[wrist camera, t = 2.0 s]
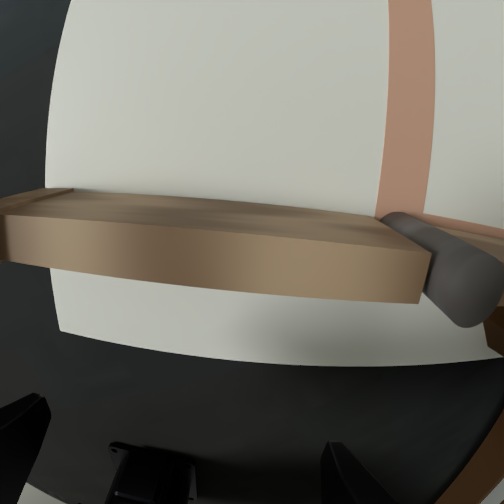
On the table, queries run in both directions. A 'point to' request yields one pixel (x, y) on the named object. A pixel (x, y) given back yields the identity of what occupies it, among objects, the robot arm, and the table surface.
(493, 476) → the decorative fence
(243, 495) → the table surface
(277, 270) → the fence panel
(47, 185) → the card
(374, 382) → the table surface
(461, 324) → the fence fixed section
